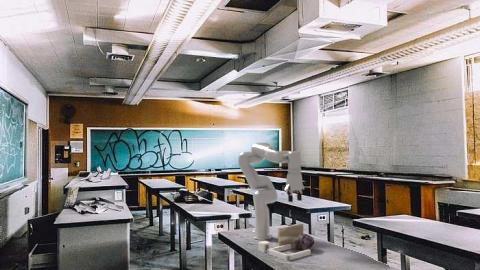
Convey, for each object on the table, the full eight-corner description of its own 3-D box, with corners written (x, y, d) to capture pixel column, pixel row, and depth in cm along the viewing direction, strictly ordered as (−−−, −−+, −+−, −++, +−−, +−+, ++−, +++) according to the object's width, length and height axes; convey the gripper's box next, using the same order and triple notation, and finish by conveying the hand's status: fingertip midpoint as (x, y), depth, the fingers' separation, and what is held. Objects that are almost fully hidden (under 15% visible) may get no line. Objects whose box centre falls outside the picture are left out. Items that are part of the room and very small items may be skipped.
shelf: (275, 247, 227) (275, 227, 227) (299, 242, 239) (298, 223, 239) (282, 250, 222) (282, 229, 223) (306, 244, 234) (305, 224, 235)
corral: (267, 253, 216) (267, 249, 216) (289, 248, 226) (289, 243, 226) (288, 260, 202) (288, 255, 202) (310, 254, 213) (310, 249, 213)
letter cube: (258, 250, 222) (258, 242, 222) (264, 249, 225) (264, 240, 225) (264, 252, 218) (263, 244, 218) (270, 251, 221) (270, 242, 221)
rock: (303, 255, 216) (318, 252, 220) (304, 240, 215) (318, 238, 219) (292, 247, 226) (306, 244, 231) (293, 233, 225) (307, 231, 229)
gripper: (300, 170, 238) (300, 199, 238) (279, 172, 228) (280, 201, 227) (308, 171, 232) (309, 200, 232) (288, 172, 222) (289, 203, 221)
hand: (295, 200), depth 230 cm, fingers open, 6 cm apart
